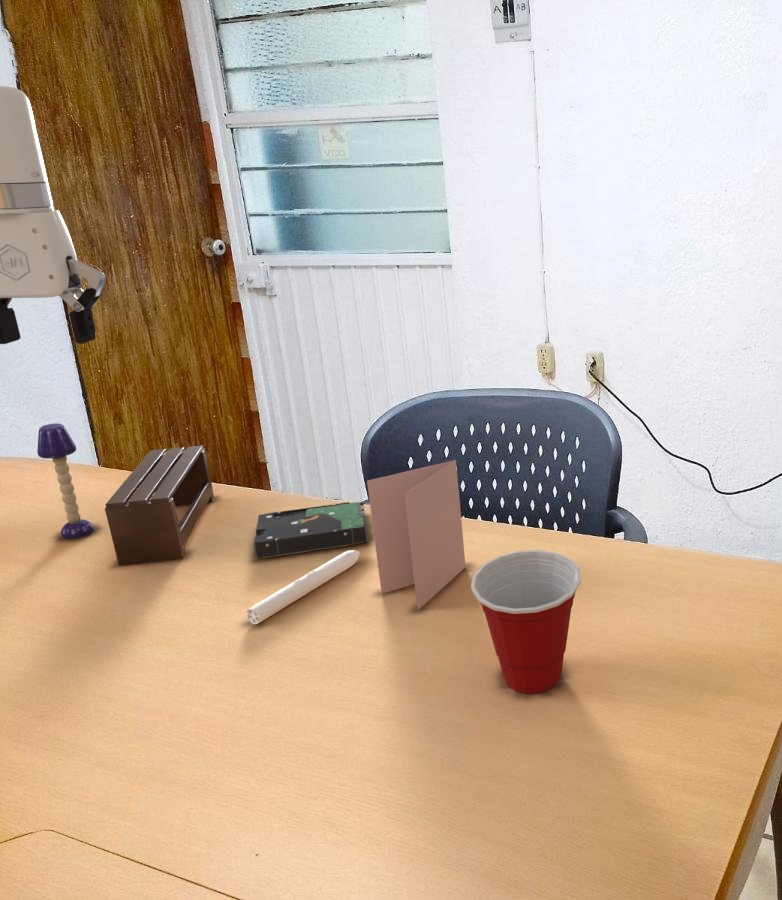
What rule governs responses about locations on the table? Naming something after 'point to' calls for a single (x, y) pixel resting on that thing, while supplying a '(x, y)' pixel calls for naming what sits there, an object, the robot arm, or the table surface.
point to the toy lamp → (63, 476)
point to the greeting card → (418, 529)
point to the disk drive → (310, 529)
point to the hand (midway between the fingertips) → (48, 341)
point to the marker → (301, 587)
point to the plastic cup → (528, 614)
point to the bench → (159, 505)
